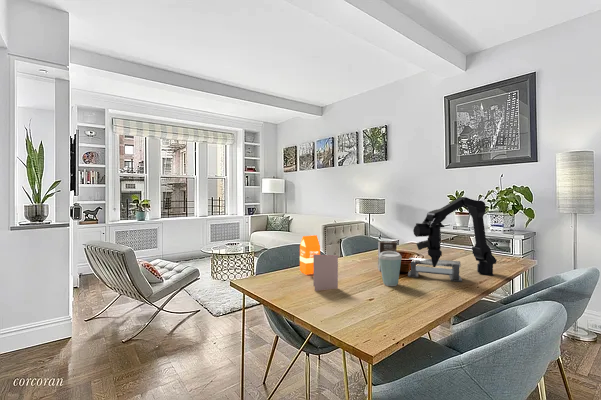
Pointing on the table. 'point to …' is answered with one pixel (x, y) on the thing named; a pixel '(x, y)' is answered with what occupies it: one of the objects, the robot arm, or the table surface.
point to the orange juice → (308, 253)
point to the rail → (439, 263)
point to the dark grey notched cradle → (454, 275)
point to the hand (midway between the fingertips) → (434, 266)
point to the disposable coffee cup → (390, 267)
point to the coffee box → (385, 248)
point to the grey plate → (434, 270)
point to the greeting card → (325, 272)
